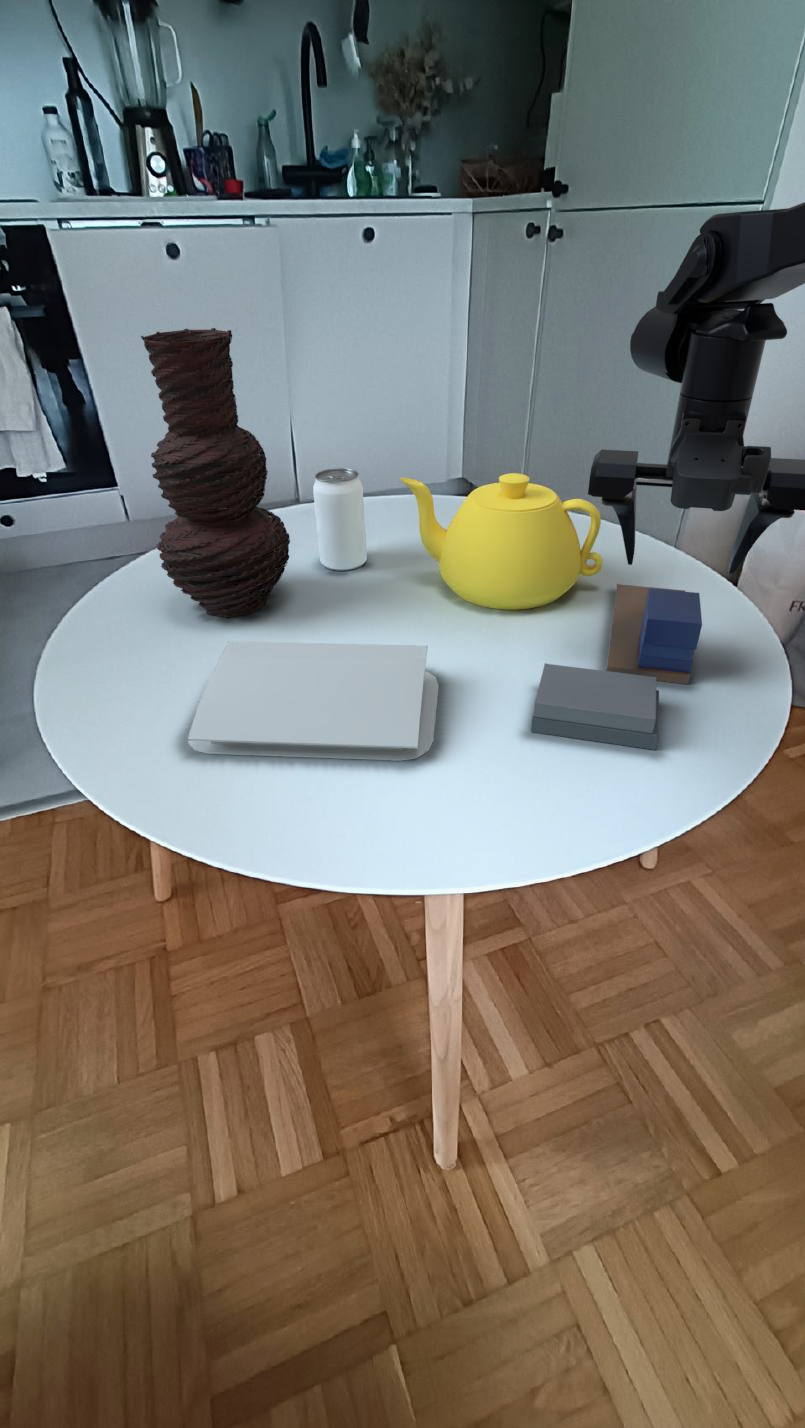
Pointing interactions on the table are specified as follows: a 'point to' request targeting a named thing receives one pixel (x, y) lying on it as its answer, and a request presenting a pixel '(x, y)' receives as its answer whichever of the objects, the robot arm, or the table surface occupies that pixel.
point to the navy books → (664, 656)
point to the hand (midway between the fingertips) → (679, 567)
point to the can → (340, 519)
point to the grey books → (597, 706)
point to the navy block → (672, 618)
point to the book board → (633, 635)
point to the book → (318, 701)
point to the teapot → (509, 543)
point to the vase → (212, 479)
